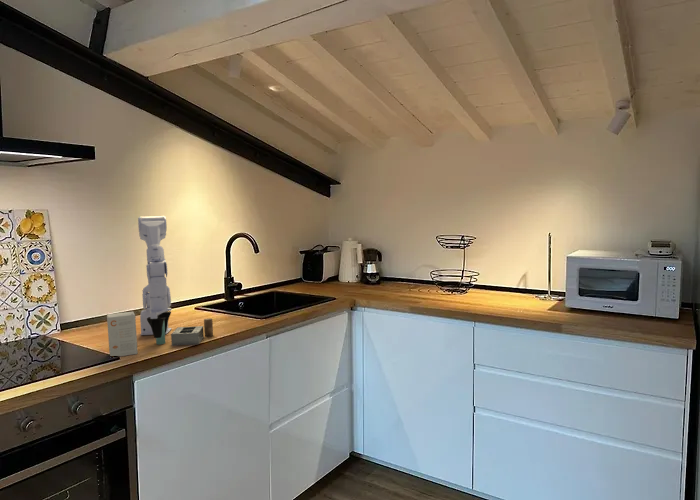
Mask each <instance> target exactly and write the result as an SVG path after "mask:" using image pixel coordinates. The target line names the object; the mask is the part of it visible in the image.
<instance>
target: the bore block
mask: <svg viewBox="0 0 700 500" xmlns="http://www.w3.org/2000/svg"><path fill="white" fill-rule="evenodd" d="M204 337H205V333H204V325H202V326H198V325H197V326H180V327H179V326H178V327H176V329H174V330H173V331H172V332H171V334H170V339H171V346H172V347H174V346H191V345H192V346H193V345H200V343H201V342H202V341H203V339H204Z"/></svg>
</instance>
